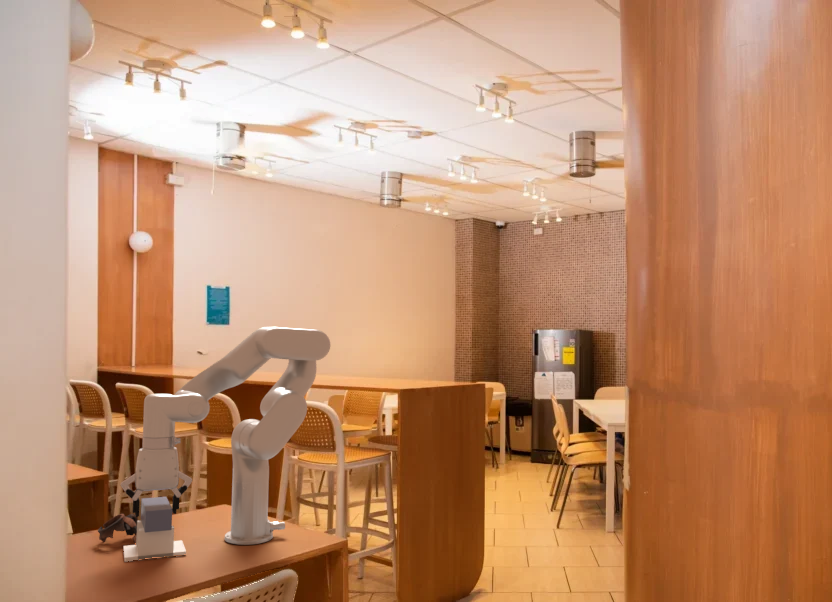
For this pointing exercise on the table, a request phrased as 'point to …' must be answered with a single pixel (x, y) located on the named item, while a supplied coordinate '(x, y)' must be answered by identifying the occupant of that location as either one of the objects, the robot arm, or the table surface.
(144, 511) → the blue-grey rectangular block
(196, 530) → the table surface
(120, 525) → the pottery mug
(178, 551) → the display stand
